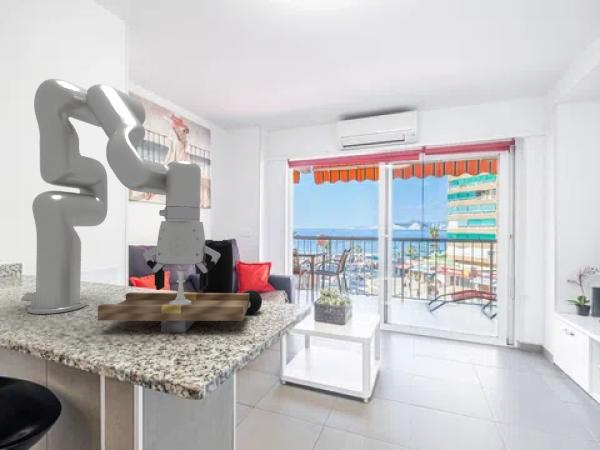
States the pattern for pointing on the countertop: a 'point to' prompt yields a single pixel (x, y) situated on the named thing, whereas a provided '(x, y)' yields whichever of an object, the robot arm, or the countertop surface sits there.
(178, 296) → the chess piece
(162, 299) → the beam
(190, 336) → the countertop surface
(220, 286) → the portable speaker
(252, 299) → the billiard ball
